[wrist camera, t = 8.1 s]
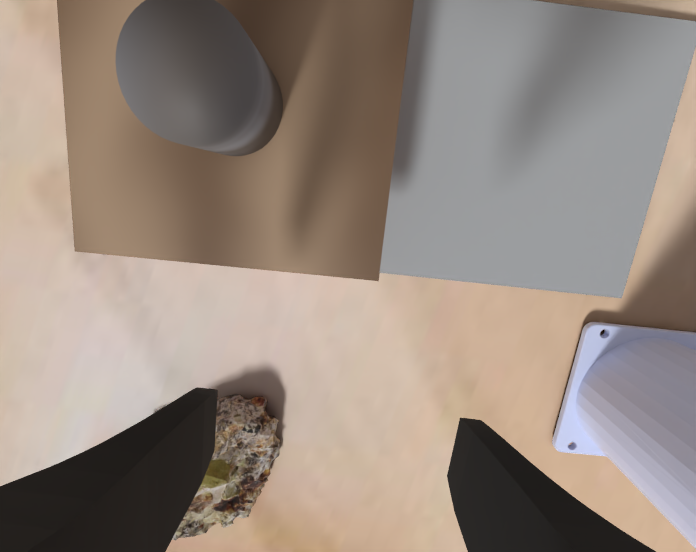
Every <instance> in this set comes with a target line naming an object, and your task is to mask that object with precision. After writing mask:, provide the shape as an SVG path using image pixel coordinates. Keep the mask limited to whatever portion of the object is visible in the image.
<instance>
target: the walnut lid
mask: <svg viewBox="0 0 696 552" xmlns="http://www.w3.org/2000/svg"><path fill="white" fill-rule="evenodd" d="M412 7H413V0H57V8H58V22H59V36H60V50H61V64H62V78H63V92H64V106H65V120H66V134H67V149H68V163H69V177H70V191H71V205H72V219H73V233H74V247H75V251H77V252H87V253H97V254H107V255H118V256H128V257H138V258H148V259H159V260H169V261H179V262H190V263H200V264H210V265H220V266H231V267H241V268H251V269H261V270H272V271H282V272H292V273H303V274H313V275H323V276H333V277H344V278H354V279H364V280H374V281H378V280H379V272H380V264H381V256H382V248H383V240H384V232H385V224H386V216H387V208H388V200H389V192H390V184H391V176H392V168H393V160H394V152H395V144H396V136H397V128H398V120H399V112H400V104H401V96H402V87H403V79H404V71H405V63H406V55H407V47H408V39H409V31H410V23H411V15H412Z"/></svg>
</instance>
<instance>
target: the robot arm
mask: <svg viewBox="0 0 696 552" xmlns="http://www.w3.org/2000/svg"><path fill="white" fill-rule="evenodd" d="M604 329H605V332H604V334H602V335H600V332H601V331H602V330H604ZM217 393H218V390H214V389H205V388H195V389H193V390H191V391H190V392H188V393H186V394H185V395H183V396H182V397H180V398H178V399H177V400H175V401H173V402H172V403H170V404H169V405H167V406H165V407H164V408H162V409H161V410H159V411H157V412H156V413H154V414H152V415H151V416H149V417H147V418H146V419H144V420H142V421H141V422H139V423H137V424H135V425H134V426H132V427H130V428H128V429H126V430H124V431H123V432H121V433H119V434H117V435H115V436H114V437H112V438H110V439H108V440H106V441H104V442H103V443H101V444H99V445H97V446H95V447H93V448H91V449H89V450H86V451H84V452H82V453H80V454H78V455H76V456H74V457H71V458H69V459H67V460H65V461H63V462H60V463H58V464H56V465H53V466H51V467H49V468H46V469H44V470H41V471H39V472H36V473H33V474H31V475H28V476H26V477H23V478H21V479H18V480H16V481H13V482H10V483H8V484H5V485H3V486H0V552H165V551H166V549H167V547H168V546H169V544H170V542H171V540H172V538H173V536H174V534H175V533H176V531H177V529H178V527H179V525H180V523H181V521H182V520H183V518H184V516H185V514H186V512H187V510H188V508H189V507H190V505H191V503H192V501H193V499H194V497H195V495H196V493H197V491H198V489H199V488H200V486H201V484H202V481H203V479H204V476H205V474H206V471H207V469H208V466H209V464H210V461H211V458H212V456H213V453H214V450H215V432H216V413H217ZM571 442H573V443H572V444H571V445H569V443H571ZM552 444H553V446H554V447H555V449H556V450H557V451H559V452H566V453H577V454H588V455H599V456H607V457H608V458H609V459H610V460H611V461H612V462H613V463H614V464H615V465H616V466H617V467H618V468H619V469H620V470H621V472H622V473H623V474H624V475H625V476H626V477H627V478H628V479H629V480H630V481H631V482H632V483H633V484H634V485H635V486H636V487H637V488H638V489H639V490H640V491H641V492H642V493H643V494H644V496H645V497H646V498H647V499H648V500H649V501H650V502H651V503H652V504H653V505H654V506H655V507H656V508H657V509H658V510H659V511H660V512H661V513H662V514H663V515H664V516H665V517H666V518H667V520H668V521H669V522H670V523H671V524H672V525H673V526H674V527H675V528H676V529H677V530H678V531H679V532H680V533H681V534H682V535H683V536H684V537H685V538H686V539H687V540H688V541H689V542H690V544H691V545H692V546H693V547H694V548H695V549H696V332H687V331H677V330H667V329H658V328H648V327H638V326H629V325H619V324H610V323H600V322H590V323H588V324H586V325H585V326H584V328H583V330H582V334H581V338H580V341H579V345H578V349H577V352H576V356H575V359H574V363H573V367H572V370H571V374H570V378H569V381H568V385H567V389H566V392H565V396H564V400H563V403H562V407H561V411H560V414H559V418H558V422H557V425H556V429H555V433H554V436H553V440H552ZM447 477H448V482H449V488H450V493H451V498H452V502H453V506H454V511H455V514H456V517H457V520H458V523H459V526H460V529H461V532H462V535H463V538H464V541H465V544H466V547H467V550H468V552H656V551H654V550H652V549H651V548H649V547H647V546H646V545H644V544H642V543H641V542H639V541H637V540H636V539H634V538H633V537H631V536H630V535H628V534H626V533H625V532H623V531H622V530H620V529H619V528H617V527H616V526H614V525H613V524H611V523H610V522H608V521H607V520H605V519H604V518H602V517H601V516H600V515H598V514H597V513H595V512H594V511H592V510H591V509H589V508H588V507H587V506H585V505H584V504H582V503H581V502H580V501H578V500H577V499H576V498H574V497H573V496H572V495H570V494H569V493H568V492H567V491H565V490H564V489H563V488H561V487H560V486H559V485H558V484H556V483H555V482H554V481H552V480H551V479H550V478H549V477H548V476H546V475H545V474H544V473H543V472H541V471H540V470H539V469H538V468H537V467H535V466H534V465H533V464H532V463H531V462H529V461H528V460H527V459H526V458H525V457H524V456H522V455H521V454H520V453H519V452H518V451H517V450H516V449H514V448H513V447H512V446H511V445H510V444H509V443H508V442H506V441H505V440H504V439H503V438H502V437H501V436H499V435H498V434H497V433H496V432H495V431H494V430H492V429H491V428H490V427H489V426H488V425H486V424H485V423H484V422H482V421H481V420H475V419H467V418H460V421H459V425H458V430H457V434H456V439H455V443H454V448H453V452H452V457H451V461H450V466H449V470H448V475H447Z"/></svg>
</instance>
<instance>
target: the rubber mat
mask: <svg viewBox="0 0 696 552" xmlns="http://www.w3.org/2000/svg"><path fill="white" fill-rule="evenodd" d="M695 47H696V21H689V20H681V19H674V18H666V17H658V16H650V15H643V14H635V13H627V12H619V11H612V10H604V9H596V8H588V7H581V6H573V5H565V4H557V3H550V2H542V1H534V0H413V7H412V15H411V23H410V31H409V39H408V47H407V55H406V63H405V71H404V79H403V87H402V96H401V104H400V112H399V120H398V128H397V136H396V144H395V152H394V160H393V168H392V176H391V184H390V192H389V200H388V208H387V216H386V224H385V232H384V240H383V248H382V256H381V264H380V272H379V273H388V274H397V275H407V276H416V277H426V278H435V279H444V280H454V281H463V282H473V283H482V284H492V285H501V286H511V287H520V288H529V289H539V290H548V291H558V292H567V293H577V294H586V295H596V296H605V297H614V298H622V296H623V292H624V289H625V285H626V282H627V278H628V275H629V272H630V268H631V265H632V261H633V258H634V255H635V251H636V248H637V244H638V241H639V238H640V234H641V231H642V227H643V224H644V221H645V217H646V214H647V210H648V207H649V204H650V200H651V197H652V193H653V190H654V187H655V183H656V180H657V176H658V173H659V170H660V166H661V163H662V159H663V156H664V153H665V149H666V146H667V142H668V139H669V136H670V132H671V129H672V125H673V122H674V118H675V115H676V112H677V108H678V105H679V101H680V98H681V95H682V91H683V88H684V84H685V81H686V78H687V74H688V71H689V67H690V64H691V61H692V57H693V54H694V50H695Z"/></svg>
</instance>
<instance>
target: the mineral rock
mask: <svg viewBox="0 0 696 552" xmlns="http://www.w3.org/2000/svg"><path fill="white" fill-rule="evenodd" d="M266 404H267V400H266V399H265V398H263V397H254V398H252V399H244V398H243V397H242V396H241V395H232V396H226V397H225V398H220V399H219V400H217V413H216V432H215V450H214V453H213V456H212V458H211V461H210V464H209V466H208V469H207V471H206V474H205V476H204V479H203V481H202V484H201V486H200V488H199V489H198V491H197V493H196V495H195V497H194V499H193V501H192V503H191V505H190V507H189V508H188V510H187V512H186V514H185V516H184V518H183V520H182V521H181V523H180V525H179V527H178V529H177V531H176V533H175V534H174V536H173V538H172V540H173V539H174V540H177V539H178V538H181V537H183V538H185V537H191V536H196V535H201V534H203V533H206V532H207V530H208V529H209V528H210V527H212V526H213V525H214V524H216V523H221V525H222V527H223V528H224V527H228V526H230V525H232V524H233V520H234V518H235V517H240V518H245V517H248V516H249V514H250V512H251V508H252V506H253V505H254V504H255V502H256V499H257V497H258V496H259V495H260V494H261V489H262V488H263V487H264V484H265V482H266V481H268V479H267V477H268V476H269V475H270V465H271V463H272V461H273V460H274V459H275V458H277V457H278V456H279V450H280V447H279V442H280V440H279V439H278V438H277V437H276V435H275V432H276V429H277V423H278V421H279V420H278V419H276V418H275V417H271V416H268V415H267V413H266V410H265V408H266Z"/></svg>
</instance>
